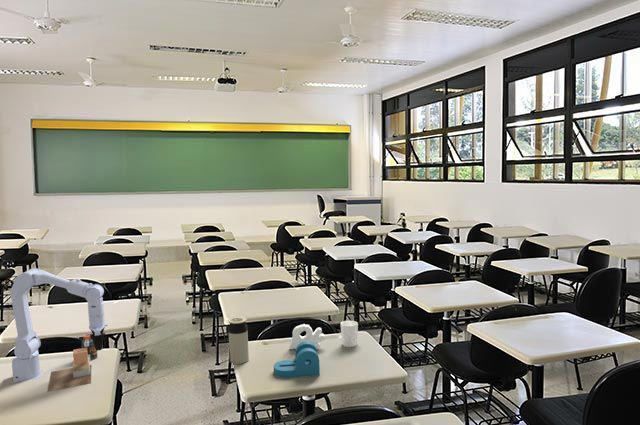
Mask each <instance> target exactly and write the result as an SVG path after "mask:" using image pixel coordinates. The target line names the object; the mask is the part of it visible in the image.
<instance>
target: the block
mask: <svg viewBox="0 0 640 425" xmlns="http://www.w3.org/2000/svg"><path fill="white" fill-rule="evenodd" d="M72 357H73V360H74V365H76V364H82V363H87V362H88V353H87V348H82V347H81V348H77V349H73V352H72Z"/></svg>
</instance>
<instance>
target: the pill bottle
mask: <svg viewBox="0 0 640 425" xmlns="http://www.w3.org/2000/svg"><path fill="white" fill-rule="evenodd" d="M90 334H93V333H92V332H91V333H86V334H85V333H84V335H82V336H83V339H82V341H81V349H82V348H87V353H88V358H89V362H90V361H94V360H96V359H98V351H96V349H95V346H94V342H93V340H92V339H91V337H90Z"/></svg>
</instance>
